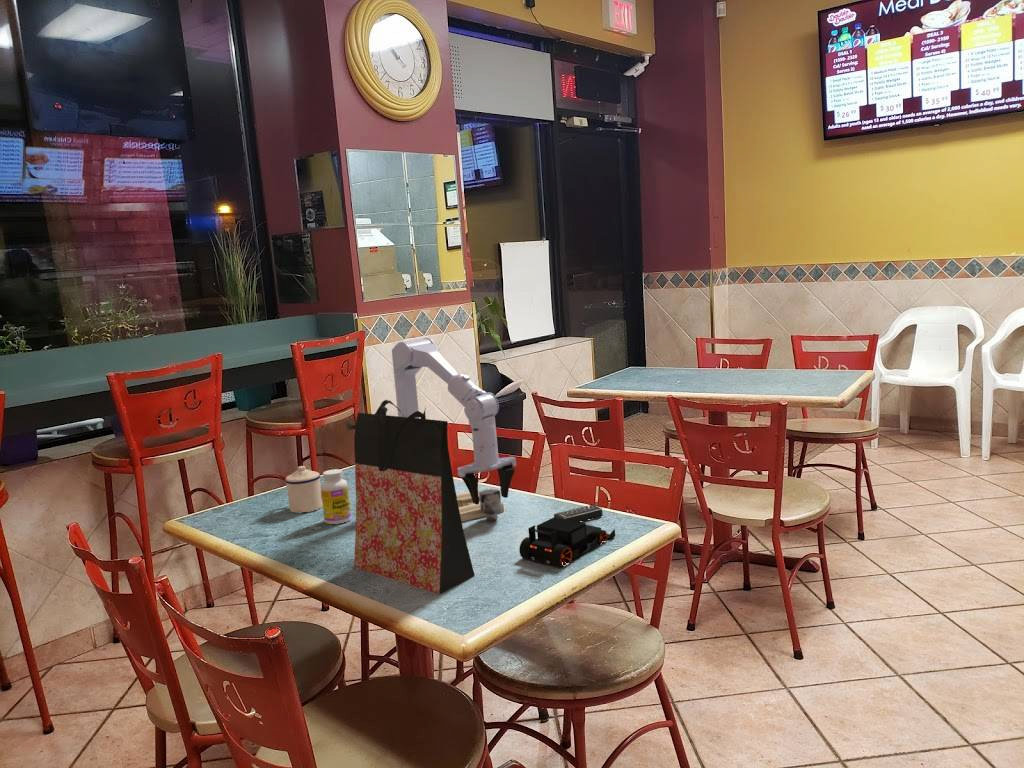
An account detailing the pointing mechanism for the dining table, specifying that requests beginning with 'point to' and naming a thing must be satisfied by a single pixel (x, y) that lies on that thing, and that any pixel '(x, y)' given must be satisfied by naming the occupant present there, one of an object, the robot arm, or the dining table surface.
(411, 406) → the robot arm
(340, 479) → the supplement bottle
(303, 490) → the teacup with lid
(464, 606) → the dining table surface
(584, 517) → the multiport hub
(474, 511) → the keyhole plate
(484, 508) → the keyhole peg
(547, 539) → the toy truck
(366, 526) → the gift bag
